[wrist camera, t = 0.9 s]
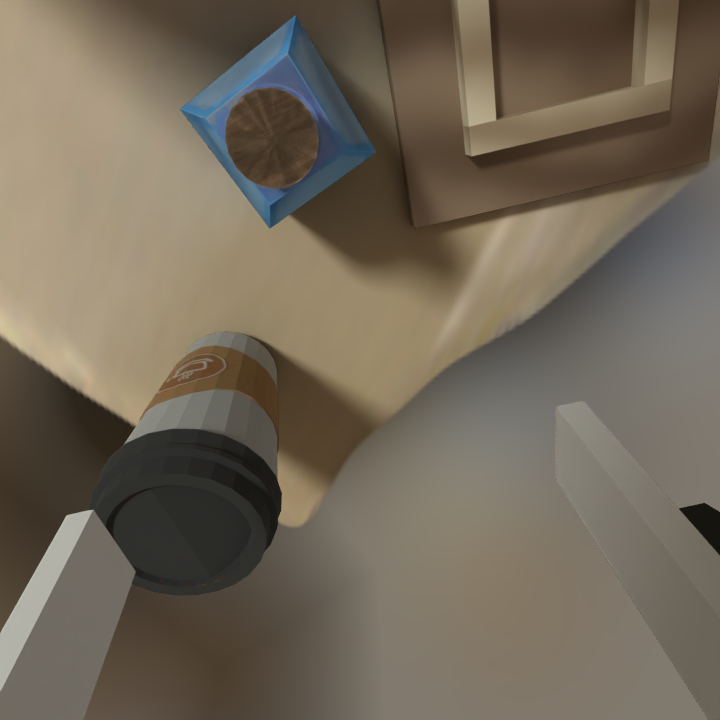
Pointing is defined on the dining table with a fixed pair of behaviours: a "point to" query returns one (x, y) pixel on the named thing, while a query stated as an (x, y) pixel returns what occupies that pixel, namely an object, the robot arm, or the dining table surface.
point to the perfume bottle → (280, 124)
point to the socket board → (545, 96)
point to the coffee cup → (199, 472)
